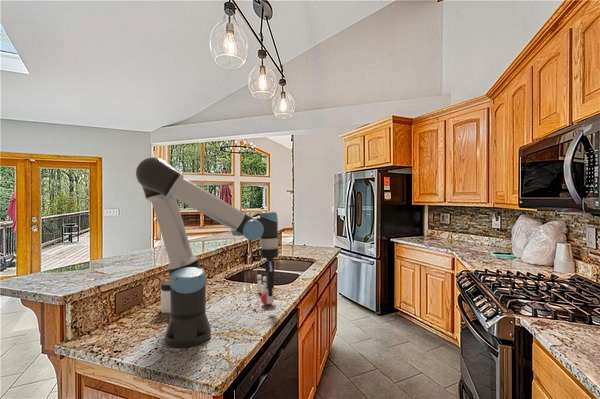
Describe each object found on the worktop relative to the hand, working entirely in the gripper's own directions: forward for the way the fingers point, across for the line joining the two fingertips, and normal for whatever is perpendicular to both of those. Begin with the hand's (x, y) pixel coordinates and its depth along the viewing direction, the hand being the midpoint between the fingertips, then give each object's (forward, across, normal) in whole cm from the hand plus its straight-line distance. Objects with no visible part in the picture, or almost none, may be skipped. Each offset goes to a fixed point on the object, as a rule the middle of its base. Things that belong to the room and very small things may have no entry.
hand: (270, 302), depth 132 cm
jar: (+4, +11, +42) cm, 44 cm away
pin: (+4, +29, +3) cm, 29 cm away
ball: (+1, +9, 0) cm, 9 cm away
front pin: (+4, +24, 0) cm, 25 cm away
